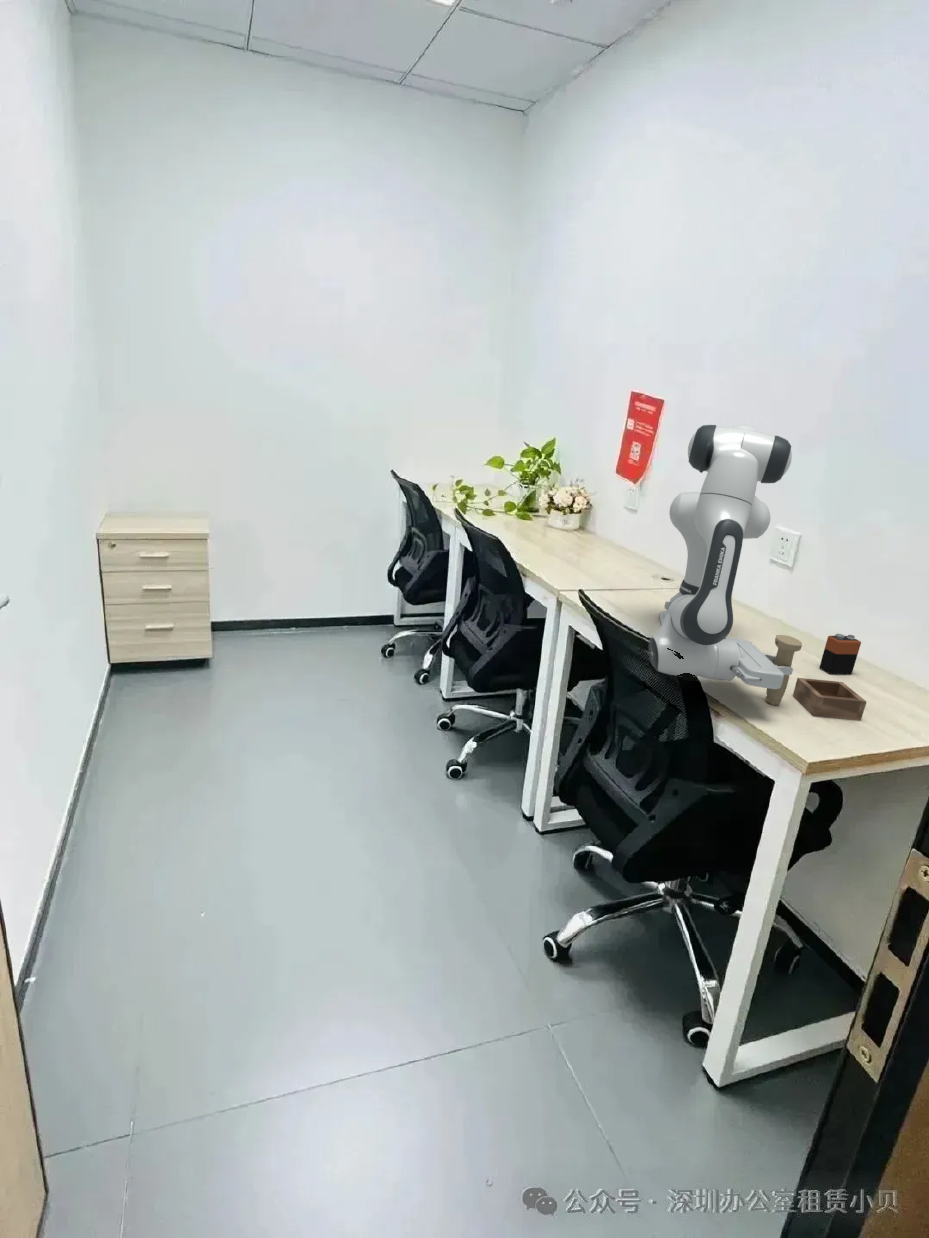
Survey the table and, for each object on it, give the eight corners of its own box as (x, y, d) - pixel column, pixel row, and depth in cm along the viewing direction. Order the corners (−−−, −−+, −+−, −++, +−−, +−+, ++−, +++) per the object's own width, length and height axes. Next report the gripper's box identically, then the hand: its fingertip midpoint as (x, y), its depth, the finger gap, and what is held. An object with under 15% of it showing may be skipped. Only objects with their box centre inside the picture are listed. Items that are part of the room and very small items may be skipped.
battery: (818, 668, 179) (828, 631, 176) (840, 668, 180) (851, 632, 177) (829, 674, 175) (840, 638, 172) (852, 675, 176) (863, 638, 173)
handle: (777, 697, 158) (793, 635, 153) (789, 710, 152) (806, 646, 147) (756, 695, 158) (771, 633, 153) (767, 708, 151) (784, 644, 147)
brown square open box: (792, 695, 160) (797, 677, 158) (837, 699, 160) (842, 681, 158) (813, 716, 150) (818, 697, 148) (860, 720, 150) (866, 701, 148)
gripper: (744, 665, 141) (811, 671, 141) (712, 630, 160) (771, 636, 160) (737, 693, 143) (803, 699, 143) (706, 656, 162) (764, 661, 162)
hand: (786, 665), depth 152 cm, fingers closed on handle, 4 cm apart
